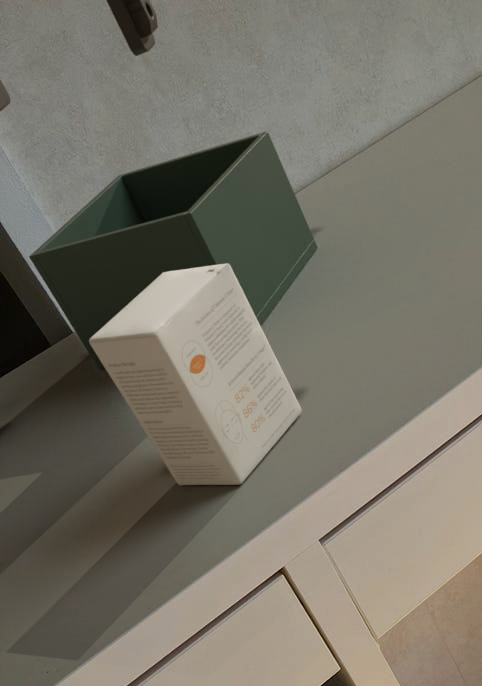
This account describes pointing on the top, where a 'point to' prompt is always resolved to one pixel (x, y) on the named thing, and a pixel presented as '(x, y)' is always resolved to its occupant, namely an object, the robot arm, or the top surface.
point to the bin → (180, 233)
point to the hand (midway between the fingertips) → (71, 80)
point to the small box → (199, 375)
